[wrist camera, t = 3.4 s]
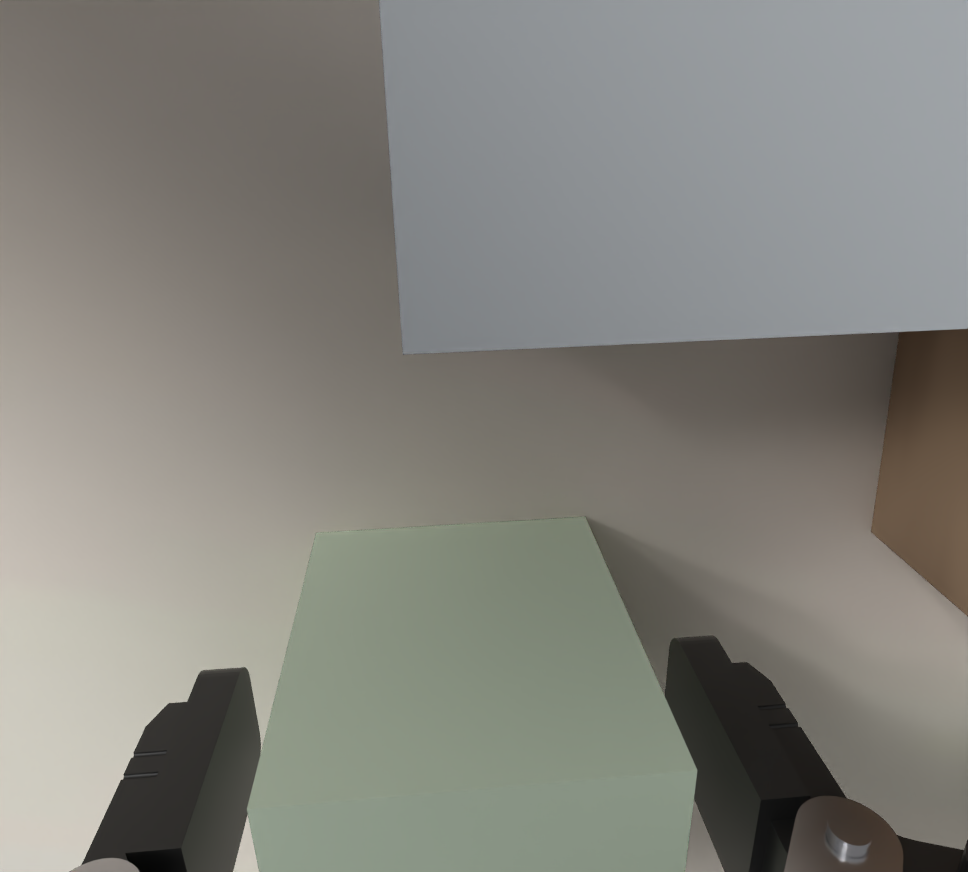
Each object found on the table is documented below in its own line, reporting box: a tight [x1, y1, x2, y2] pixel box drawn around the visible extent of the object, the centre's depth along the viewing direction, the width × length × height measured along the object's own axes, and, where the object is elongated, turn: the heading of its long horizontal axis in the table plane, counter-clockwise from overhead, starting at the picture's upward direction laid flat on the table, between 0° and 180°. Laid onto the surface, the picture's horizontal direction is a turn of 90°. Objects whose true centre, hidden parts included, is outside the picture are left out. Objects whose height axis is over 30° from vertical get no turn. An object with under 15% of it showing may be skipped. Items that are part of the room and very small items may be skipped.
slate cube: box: [379, 0, 968, 355], centre depth 8 cm, size 5×5×6 cm
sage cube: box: [247, 517, 697, 872], centre depth 12 cm, size 5×5×6 cm
